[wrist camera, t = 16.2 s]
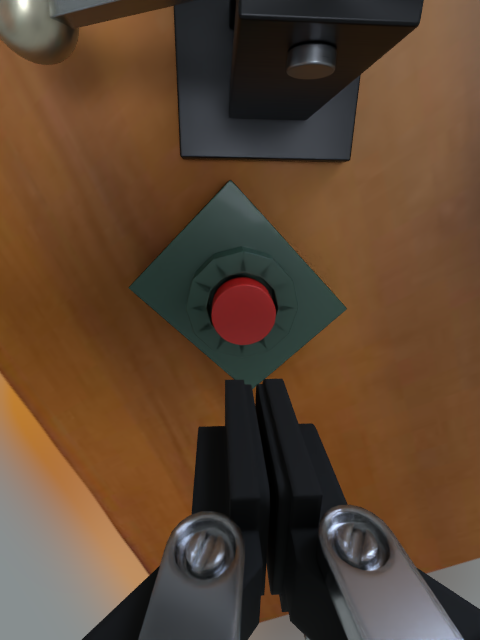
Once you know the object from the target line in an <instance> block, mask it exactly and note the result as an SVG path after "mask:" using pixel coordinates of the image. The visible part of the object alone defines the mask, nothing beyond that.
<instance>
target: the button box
mask: <svg viewBox="0 0 480 640" xmlns="http://www.w3.org/2000/svg"><path fill="white" fill-rule="evenodd" d="M237 277H248V278H252V279H255V280H257V281H259V282H260V283H262V284H263V285H264V286H265V287H266V289H267V290H268V292H269V294H270V296H271V298H272V300H273V302H274V305H275V309H276V319H275V323H274V325H273V328H272V329H271V331H270V332H269V333H268V335H267V336H265V337H264V338H263V339H261V340H260V341H258V342H256V343H253V344H248V345H238V344H233V343H230V342H228V341H226V340H225V339H223V338H222V337H221V336H220V335H219V334H218V333H217V331H216V330H215V328H214V326H213V323H212V317H211V314H212V302H213V298H214V295H215V293H216V291H217V290H218V288H219V287H220V286H221V285H222V284H224V283H225V282H227V281H228V280H230V279H233V278H237ZM129 289H130V290H131V291H133V292H134V293H135V294H136V295H137V296H138V297H140V298H141V299H142V300H143V301H144V302H145V303H146V304H148V305H149V306H150V307H151V308H152V309H153V310H155V311H156V312H157V313H158V314H159V315H160V316H162V317H163V318H164V319H165V320H166V321H167V322H169V323H170V324H171V325H172V326H173V327H174V328H175V329H177V330H178V331H179V332H180V333H181V334H182V335H184V336H185V337H186V338H187V339H188V340H189V341H191V342H192V343H193V344H194V345H195V346H196V347H197V348H199V349H200V350H201V351H202V352H203V353H204V354H206V355H207V356H208V357H209V358H210V359H211V360H213V361H214V362H215V363H216V364H217V365H218V366H219V367H221V368H222V369H223V370H224V371H225V372H226V373H228V374H229V375H230V376H231V377H232V378H233V379H235V380H244V384H251V386H252V389H253V388H254V387H256V385H257V384H259V383H260V382H261V381H263V380H264V379H265V378H266V377H267V376H269V375H270V374H271V373H272V372H273V371H274V370H276V369H277V368H278V367H279V366H280V365H282V364H283V363H284V362H285V361H286V360H287V359H289V358H290V357H291V356H292V355H293V354H294V353H296V352H297V351H298V350H299V349H300V348H302V347H303V346H304V345H305V344H306V343H307V342H309V341H310V340H311V339H312V338H313V337H314V336H316V335H317V334H318V333H319V332H320V331H322V330H323V329H324V328H325V327H326V326H327V325H329V324H330V323H331V322H332V321H333V320H334V319H336V318H337V317H338V316H339V315H340V314H342V313H343V312H344V311H345V310H346V309H347V308H346V307H345V306H344V305H343V304H342V303H341V301H340V300H339V299H338V298H337V297H336V296H335V295H334V294H333V293H332V291H331V290H330V289H329V288H328V287H327V286H326V285H325V284H324V283H323V281H322V280H321V279H320V278H319V277H318V276H317V275H316V274H315V273H314V271H313V270H312V269H311V268H310V267H309V266H308V265H307V264H306V263H305V261H304V260H303V259H302V258H301V257H300V256H299V255H298V254H297V253H296V251H295V250H294V249H293V248H292V247H291V246H290V245H289V244H288V243H287V242H286V240H285V239H284V238H283V237H282V236H281V235H280V234H279V233H278V232H277V230H276V229H275V228H274V227H273V226H272V225H271V224H270V223H269V222H268V220H267V219H266V218H265V217H264V216H263V215H262V214H261V213H260V212H259V210H258V209H257V208H256V207H255V206H254V205H253V204H252V203H251V202H250V200H249V199H248V198H247V197H246V196H245V195H244V194H243V193H242V192H241V190H240V189H239V188H238V187H237V186H236V185H235V184H234V183H233V182H232V181H231V180H229V181H228V182H227V184H226V185H225V186H224V187H223V188H222V189H221V190H220V191H219V192H218V193H217V194H216V195H215V196H214V197H213V198H212V199H211V201H210V202H209V203H208V204H207V205H206V206H205V207H204V208H203V209H202V210H201V211H200V212H199V213H198V214H197V215H196V216H195V218H194V219H193V220H192V221H191V222H190V223H189V224H188V225H187V226H186V227H185V228H184V229H183V230H182V231H181V232H180V233H179V235H178V236H177V237H176V238H175V239H174V240H173V241H172V242H171V243H170V244H169V245H168V246H167V247H166V248H165V249H164V250H163V251H162V253H161V254H160V255H159V256H158V257H157V258H156V259H155V260H154V261H153V262H152V263H151V264H150V265H149V266H148V267H147V268H146V270H145V271H144V272H143V273H142V274H141V275H140V276H139V277H138V278H137V279H136V280H135V281H134V282H133V283H132V284H131V285H130V287H129Z"/></svg>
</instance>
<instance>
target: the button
mask: <svg viewBox="0 0 480 640" xmlns="http://www.w3.org/2000/svg"><path fill="white" fill-rule="evenodd" d="M211 317H212V323H213V326H214V328H215V330H216V331H217V333H218V334H219V335H220V336H221V337H222V338H223V339H225V340H226V341H228V342H230V343H233V344H238V345H248V344H253V343H256V342H258V341H260V340H261V339H263V338H264V337H265V336H267V335H268V333H269V332H270V331H271V329H272V328H273V325H274V323H275V319H276V309H275V305H274V302H273V300H272V298H271V296H270V294H269V292H268V290H267V289H266V287H265V286H264V285H263V284H262V283H260V282H259V281H257V280H255V279H252V278H248V277H237V278H233V279H230V280H228V281H227V282H225V283H224V284H222V285H221V286H220V287H219V288H218V290H217V291H216V293H215V295H214V298H213V302H212V314H211Z"/></svg>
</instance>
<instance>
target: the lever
mask: <svg viewBox="0 0 480 640" xmlns="http://www.w3.org/2000/svg"><path fill="white" fill-rule="evenodd" d="M192 1H197V0H0V39H1V40H2V41H3V42H4V43H5V44H6V45H7V46H8V47H9V48H10V49H11V50H12V51H14V52H15V53H16V54H18V55H19V56H21V57H23V58H24V59H26V60H28V61H31V62H33V63H37V64H42V65H52V64H57V63H60V62H62V61H64V60H65V59H67V58H68V57H69V56H70V55H71V53H72V52H73V51H74V49H75V47H76V44H77V41H78V36H79V27H83V26H88V25H92V24H96V23H101V22H105V21H109V20H114V19H118V18H122V17H127V16H131V15H136V14H140V13H144V12H149V11H153V10H157V9H162V8H166V7H170V6H175V5H179V4H183V3H188V2H192Z"/></svg>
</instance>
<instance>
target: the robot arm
mask: <svg viewBox="0 0 480 640" xmlns="http://www.w3.org/2000/svg"><path fill="white" fill-rule="evenodd" d="M266 563H267V571H268V578H269V586H270V592H271V595H276V594H279V596H280V602H281V609H282V612H289V616H290V621H291V622H292V623H293V624H294V625H295V626H296V627H297V628H298V629H299V630H300V631H301V632H302V633H303V634H304V637H305V640H480V609H479V608H477V607H475V606H474V605H472V604H471V603H469V602H468V601H466V600H465V599H463V598H462V597H460V596H459V595H457V594H456V593H454V592H453V591H451V590H450V589H448V588H447V587H445V586H444V585H442V584H441V583H439V582H438V581H436V580H435V579H433V578H431V577H430V576H428V575H427V574H425V573H424V572H422V571H421V570H419V569H418V568H416V567H415V565H414V564H413V562H412V561H411V559H410V558H409V556H408V555H407V553H406V552H405V550H404V549H403V547H402V546H401V544H400V543H399V541H398V540H397V538H396V537H395V535H394V534H393V532H392V531H391V530H390V528H389V527H388V526H387V525H386V524H385V523H384V521H383V520H381V519H380V518H379V517H377V516H376V515H375V514H374V513H372V512H370V511H368V510H366V509H364V508H362V507H358V506H353V505H347V502H346V500H345V497H344V495H343V492H342V490H341V488H340V485H339V483H338V480H337V478H336V475H335V473H334V471H333V468H332V466H331V463H330V461H329V459H328V456H327V454H326V451H325V449H324V446H323V444H322V442H321V439H320V437H319V434H318V432H317V430H316V428H315V426H314V425H313V424H298V421H297V419H296V416H295V413H294V410H293V407H292V404H291V401H290V398H289V395H288V393H287V390H286V387H285V384H284V381H283V379H264V380H263V384H257V385H256V404H255V403H254V397H253V391H252V386H251V384H244V380H225V426H212V427H199V428H198V440H197V452H196V465H195V478H194V490H193V503H192V515H190V516H188V517H187V518H185V519H184V520H182V521H181V522H180V523H179V524H178V525H177V526H176V527H175V528H174V530H173V531H172V532H171V535H170V537H169V539H168V541H167V544H166V547H165V550H164V554H163V557H162V561H161V564H160V566H159V567H158V568H157V569H156V570H155V571H154V572H153V573H152V574H151V575H150V576H148V578H146V579H145V580H144V581H143V582H142V583H141V584H140V585H139V586H138V587H137V588H136V589H135V590H134V591H133V592H132V593H130V594H129V595H128V596H127V597H126V598H125V599H124V600H123V601H122V602H121V603H120V604H119V605H118V606H117V607H116V608H115V609H114V610H113V611H112V612H110V613H109V614H108V615H107V616H106V617H105V618H104V619H103V620H102V621H101V622H100V623H99V624H98V625H97V626H96V627H95V628H93V629H92V630H91V631H90V632H89V633H88V634H87V635H86V636H85V637H84V638H83V639H82V640H248V638H249V637H250V635H251V634H252V633H253V631H254V630H255V628H256V627H257V625H258V624H259V616H260V599H261V595H264V590H265V575H266Z"/></svg>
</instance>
